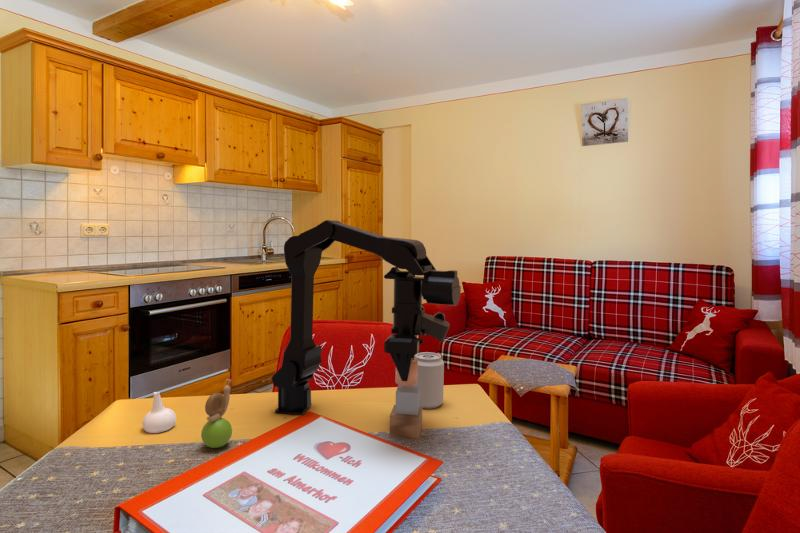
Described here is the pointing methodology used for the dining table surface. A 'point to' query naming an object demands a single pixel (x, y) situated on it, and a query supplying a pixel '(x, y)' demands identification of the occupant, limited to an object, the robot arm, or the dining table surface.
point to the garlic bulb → (158, 417)
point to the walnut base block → (405, 424)
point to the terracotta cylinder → (412, 375)
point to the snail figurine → (217, 420)
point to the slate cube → (407, 400)
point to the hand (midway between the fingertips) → (406, 377)
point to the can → (430, 379)
